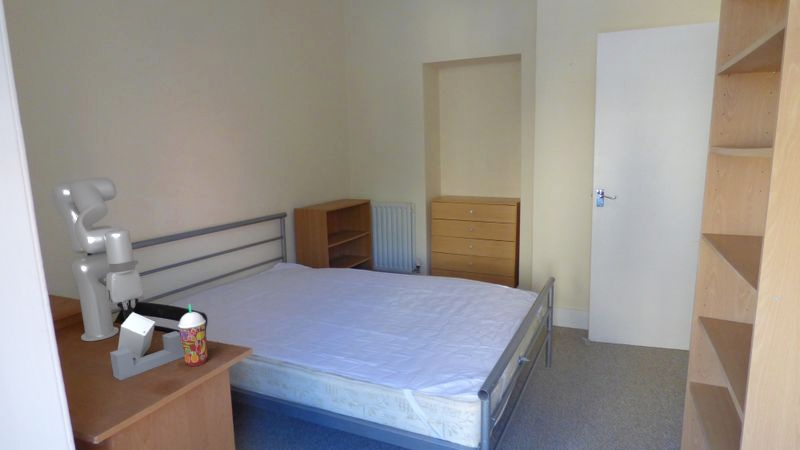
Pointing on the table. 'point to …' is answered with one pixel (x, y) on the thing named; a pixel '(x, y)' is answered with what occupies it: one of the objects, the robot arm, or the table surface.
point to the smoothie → (193, 338)
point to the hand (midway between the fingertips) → (129, 319)
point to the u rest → (146, 357)
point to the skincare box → (136, 334)
